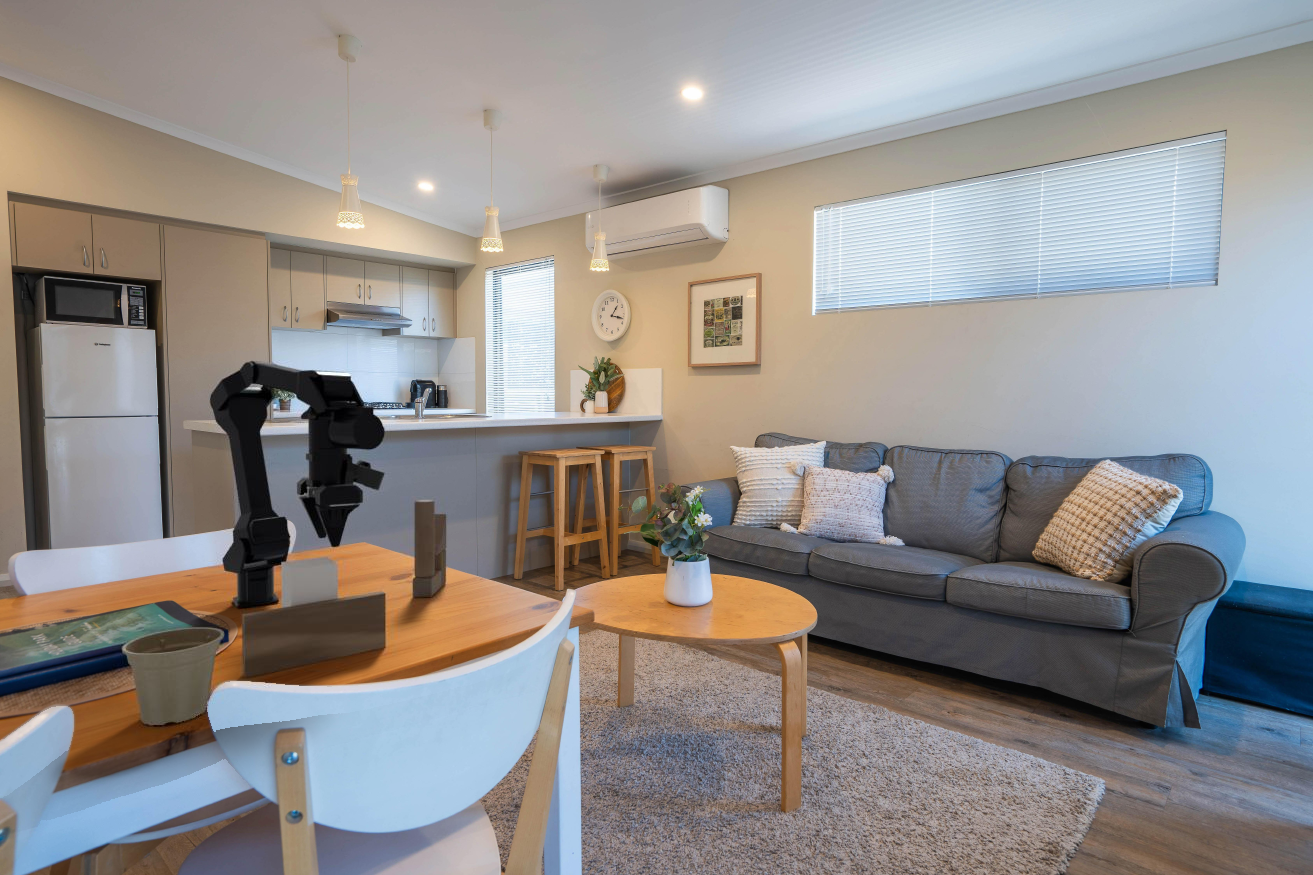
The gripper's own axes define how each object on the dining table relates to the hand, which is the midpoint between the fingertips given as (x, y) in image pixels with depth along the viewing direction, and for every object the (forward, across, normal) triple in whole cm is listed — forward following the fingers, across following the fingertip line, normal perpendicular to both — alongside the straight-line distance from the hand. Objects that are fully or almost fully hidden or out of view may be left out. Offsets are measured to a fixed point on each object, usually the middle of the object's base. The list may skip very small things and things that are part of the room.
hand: (328, 542), depth 111 cm
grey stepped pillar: (+13, +9, -20) cm, 26 cm away
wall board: (+13, -18, +5) cm, 23 cm away
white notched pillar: (+13, -14, +6) cm, 20 cm away
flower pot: (+13, -27, +22) cm, 37 cm away
